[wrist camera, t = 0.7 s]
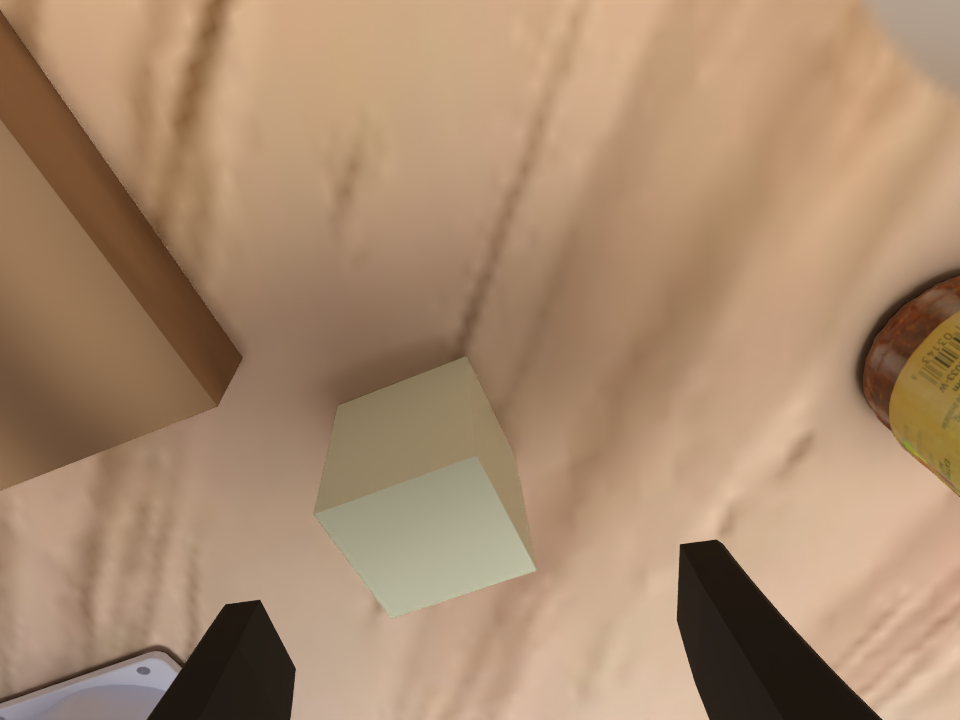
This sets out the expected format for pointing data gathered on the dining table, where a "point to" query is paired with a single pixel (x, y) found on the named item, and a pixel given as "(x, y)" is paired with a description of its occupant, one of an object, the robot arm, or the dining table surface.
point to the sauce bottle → (921, 379)
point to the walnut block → (85, 295)
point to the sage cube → (425, 491)
